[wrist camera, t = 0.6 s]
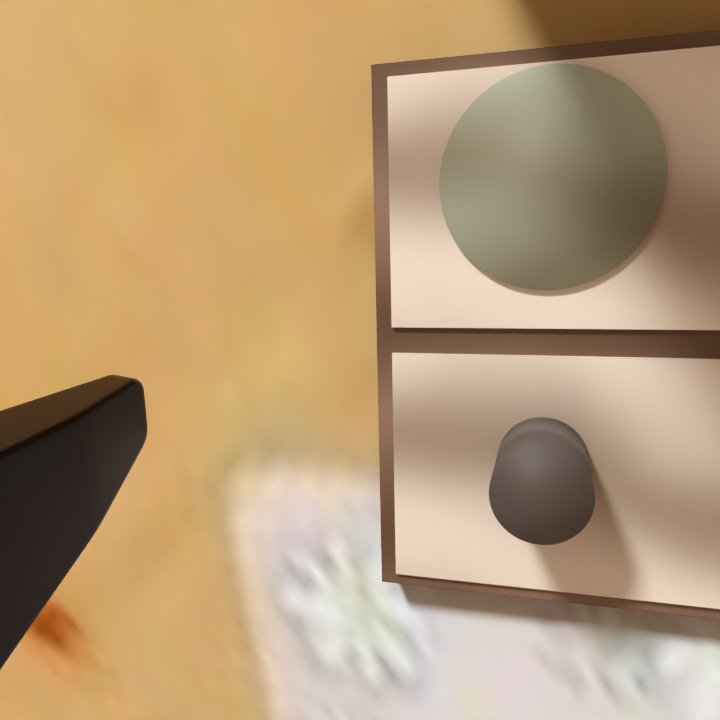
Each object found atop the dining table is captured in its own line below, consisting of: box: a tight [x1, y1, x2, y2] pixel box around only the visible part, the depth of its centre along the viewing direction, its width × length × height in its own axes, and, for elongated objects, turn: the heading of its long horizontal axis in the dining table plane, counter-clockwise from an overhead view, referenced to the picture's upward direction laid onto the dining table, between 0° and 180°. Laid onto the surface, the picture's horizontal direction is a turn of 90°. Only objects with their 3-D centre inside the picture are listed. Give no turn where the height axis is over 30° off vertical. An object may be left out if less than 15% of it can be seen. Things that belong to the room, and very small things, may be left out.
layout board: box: [371, 30, 720, 619], centre depth 18 cm, size 16×13×4 cm
